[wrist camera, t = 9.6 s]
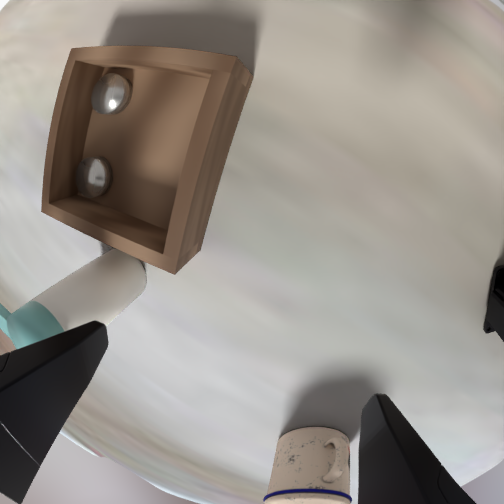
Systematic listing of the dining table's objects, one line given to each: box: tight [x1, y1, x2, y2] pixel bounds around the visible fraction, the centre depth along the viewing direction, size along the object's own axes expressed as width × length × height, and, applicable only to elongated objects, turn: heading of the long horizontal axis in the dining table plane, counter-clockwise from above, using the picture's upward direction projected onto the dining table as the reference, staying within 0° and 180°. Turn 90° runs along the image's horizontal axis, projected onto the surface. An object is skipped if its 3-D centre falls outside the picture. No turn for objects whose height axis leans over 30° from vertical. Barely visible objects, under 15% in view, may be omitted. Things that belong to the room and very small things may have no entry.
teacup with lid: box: [263, 427, 352, 504], centre depth 21 cm, size 12×9×12 cm
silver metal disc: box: [91, 73, 133, 115], centre depth 16 cm, size 3×3×1 cm
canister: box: [0, 248, 146, 349], centre depth 18 cm, size 7×5×12 cm
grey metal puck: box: [76, 156, 113, 198], centre depth 19 cm, size 3×3×1 cm
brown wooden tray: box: [41, 46, 253, 275], centre depth 17 cm, size 13×13×4 cm
